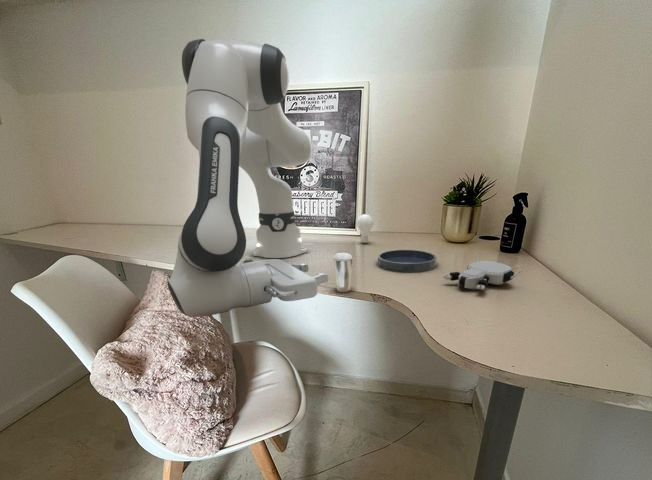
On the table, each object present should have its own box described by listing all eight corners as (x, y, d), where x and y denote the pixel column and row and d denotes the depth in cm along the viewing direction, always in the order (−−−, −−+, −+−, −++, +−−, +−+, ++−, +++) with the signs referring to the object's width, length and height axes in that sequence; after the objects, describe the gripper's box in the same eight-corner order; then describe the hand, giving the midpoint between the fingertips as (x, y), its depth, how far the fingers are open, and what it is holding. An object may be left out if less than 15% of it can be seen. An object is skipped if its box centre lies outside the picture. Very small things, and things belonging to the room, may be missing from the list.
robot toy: (481, 301, 74) (521, 284, 81) (484, 282, 72) (524, 266, 79) (439, 287, 84) (478, 272, 91) (440, 270, 82) (479, 256, 89)
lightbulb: (353, 244, 130) (353, 214, 125) (362, 241, 134) (362, 212, 130) (367, 245, 126) (368, 215, 122) (375, 242, 131) (376, 213, 127)
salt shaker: (354, 293, 79) (354, 252, 75) (332, 292, 80) (330, 251, 76) (357, 287, 83) (357, 247, 79) (336, 286, 84) (335, 247, 80)
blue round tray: (371, 259, 108) (371, 251, 107) (421, 255, 111) (421, 248, 110) (388, 274, 92) (389, 265, 91) (446, 269, 95) (447, 261, 94)
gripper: (273, 281, 60) (339, 269, 66) (241, 258, 76) (296, 249, 82) (277, 314, 62) (340, 298, 69) (244, 284, 78) (298, 274, 85)
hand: (316, 271), depth 75 cm, fingers open, 8 cm apart
